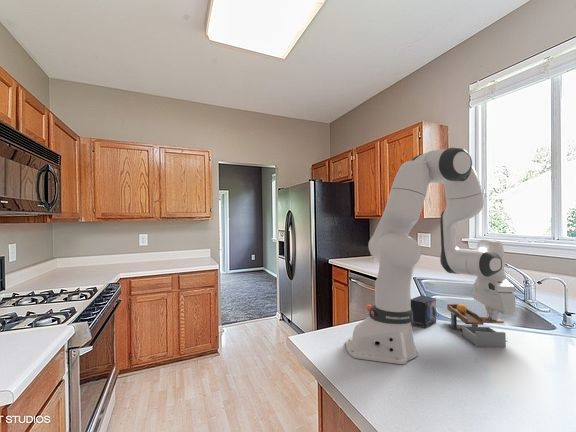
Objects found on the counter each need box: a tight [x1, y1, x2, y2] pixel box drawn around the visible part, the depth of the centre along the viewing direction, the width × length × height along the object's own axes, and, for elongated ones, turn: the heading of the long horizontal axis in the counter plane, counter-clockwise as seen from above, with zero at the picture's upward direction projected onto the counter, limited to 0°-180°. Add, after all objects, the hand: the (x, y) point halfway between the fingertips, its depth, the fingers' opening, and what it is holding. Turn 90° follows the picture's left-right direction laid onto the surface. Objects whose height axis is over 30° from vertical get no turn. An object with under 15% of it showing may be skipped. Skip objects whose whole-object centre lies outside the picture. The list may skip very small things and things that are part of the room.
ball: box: [457, 303, 468, 313], centre depth 112 cm, size 4×4×4 cm
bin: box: [461, 326, 507, 349], centre depth 98 cm, size 9×9×5 cm
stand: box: [448, 312, 479, 331], centre depth 110 cm, size 10×4×6 cm, turn 84°
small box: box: [411, 294, 437, 329], centre depth 116 cm, size 11×6×10 cm, turn 130°
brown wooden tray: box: [446, 303, 505, 326], centre depth 110 cm, size 14×15×2 cm
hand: (492, 318), depth 106 cm, fingers closed, pressing on brown wooden tray
